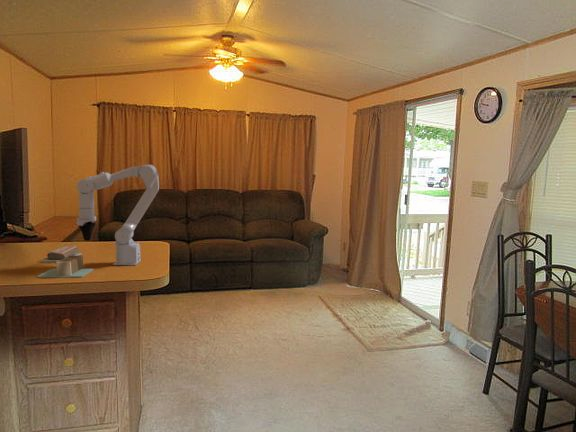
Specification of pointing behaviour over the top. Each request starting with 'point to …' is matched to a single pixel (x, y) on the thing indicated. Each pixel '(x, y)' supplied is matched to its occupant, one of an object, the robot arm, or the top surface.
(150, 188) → the robot arm
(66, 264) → the walnut block
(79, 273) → the mat
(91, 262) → the top surface
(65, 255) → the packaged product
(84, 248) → the top surface
